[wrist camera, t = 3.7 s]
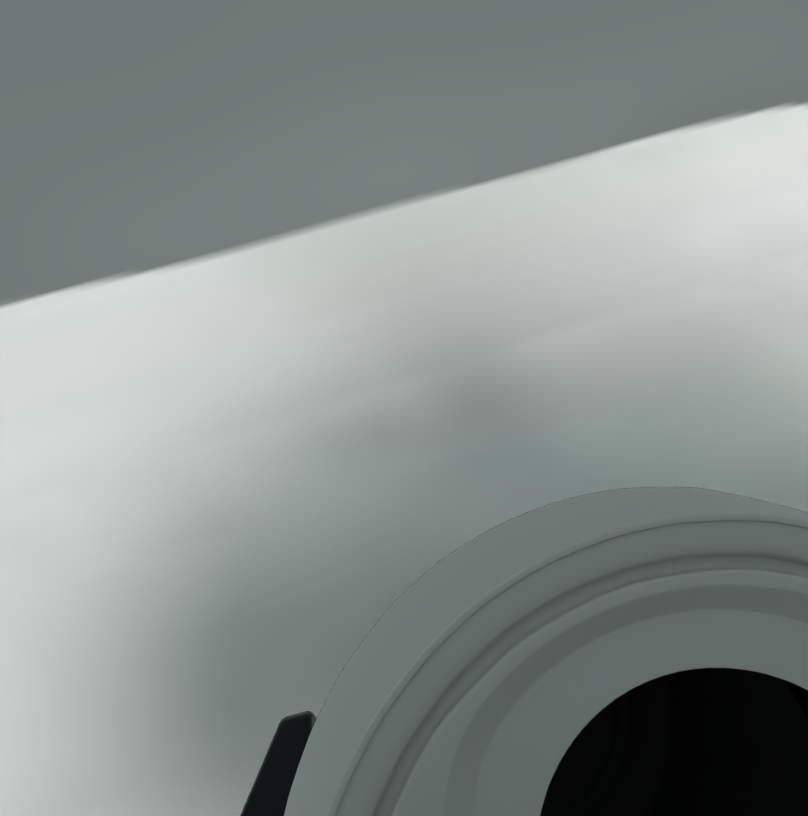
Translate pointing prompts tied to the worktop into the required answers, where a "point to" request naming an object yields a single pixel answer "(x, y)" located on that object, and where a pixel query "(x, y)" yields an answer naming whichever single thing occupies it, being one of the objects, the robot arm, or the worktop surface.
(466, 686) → the beverage can
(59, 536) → the worktop surface
